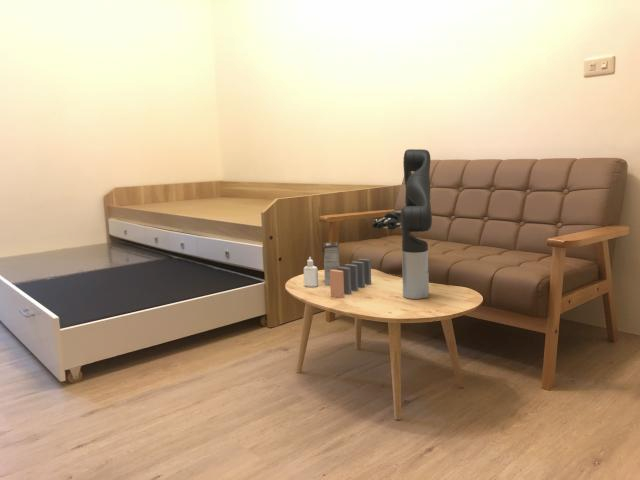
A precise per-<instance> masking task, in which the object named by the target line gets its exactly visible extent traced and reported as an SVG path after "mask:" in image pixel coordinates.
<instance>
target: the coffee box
mask: <svg viewBox="0 0 640 480" xmlns="http://www.w3.org/2000/svg"><path fill="white" fill-rule="evenodd" d="M339 243H340V242H339V241H329V242H326V241H324V242H323V261H324V262H323V267H324V269H323V270H324V272H323V273H324V285H325V286H328V285H329V286H330V270H337V267H341V265H340V263H341V262H340V244H339Z"/></svg>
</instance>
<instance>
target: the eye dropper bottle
mask: <svg viewBox="0 0 640 480" xmlns="http://www.w3.org/2000/svg"><path fill="white" fill-rule="evenodd" d="M306 263H307V265H306V266H304V267H303V284H304V287H306V286H307V288H315V287H318V286H319V270H318V267H317V266H315V265H314V260H313V259H312V257H311V256H309V257H308V259H307V261H306Z"/></svg>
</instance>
